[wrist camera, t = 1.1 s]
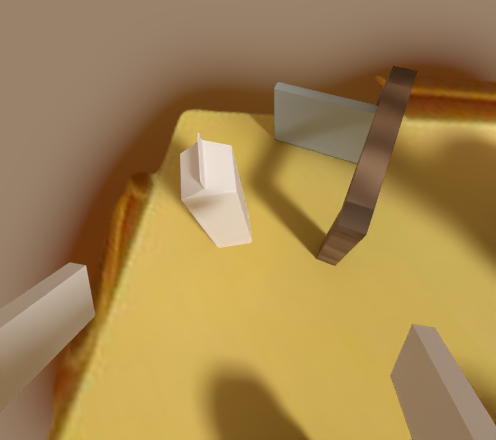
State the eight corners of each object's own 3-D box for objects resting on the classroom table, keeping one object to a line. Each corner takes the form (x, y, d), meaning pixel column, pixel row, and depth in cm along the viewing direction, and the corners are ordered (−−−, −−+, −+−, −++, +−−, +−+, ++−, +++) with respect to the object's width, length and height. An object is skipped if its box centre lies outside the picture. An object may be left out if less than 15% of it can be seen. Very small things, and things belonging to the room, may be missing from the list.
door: (362, 149, 49) (387, 98, 38) (357, 163, 48) (381, 115, 37) (280, 126, 53) (281, 73, 42) (274, 139, 52) (274, 88, 41)
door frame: (358, 142, 50) (393, 66, 35) (374, 146, 49) (417, 71, 35) (316, 258, 43) (337, 224, 28) (334, 265, 42) (366, 234, 28)
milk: (248, 211, 47) (228, 124, 27) (252, 243, 45) (233, 176, 25) (214, 216, 48) (169, 134, 27) (216, 248, 45) (169, 186, 25)
